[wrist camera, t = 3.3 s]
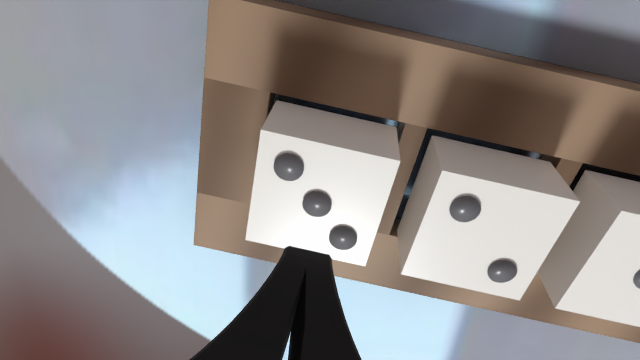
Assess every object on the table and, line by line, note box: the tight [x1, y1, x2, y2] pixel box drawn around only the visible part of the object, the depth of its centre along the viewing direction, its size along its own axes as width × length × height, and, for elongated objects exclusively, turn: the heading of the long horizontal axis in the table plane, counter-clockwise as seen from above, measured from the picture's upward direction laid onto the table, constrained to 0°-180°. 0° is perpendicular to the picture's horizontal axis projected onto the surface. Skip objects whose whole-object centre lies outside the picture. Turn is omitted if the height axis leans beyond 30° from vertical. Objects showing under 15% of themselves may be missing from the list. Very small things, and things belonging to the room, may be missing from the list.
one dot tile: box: [537, 170, 640, 327], centre depth 18 cm, size 5×5×3 cm
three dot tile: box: [245, 100, 401, 266], centre depth 18 cm, size 5×5×3 cm
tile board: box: [194, 0, 640, 343], centre depth 20 cm, size 24×12×2 cm, turn 79°
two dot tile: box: [397, 135, 580, 301], centre depth 18 cm, size 5×5×3 cm
